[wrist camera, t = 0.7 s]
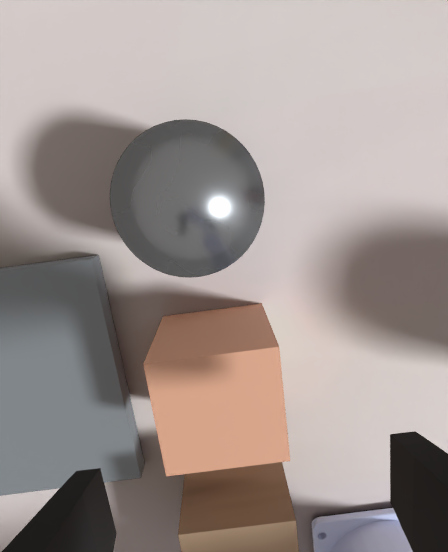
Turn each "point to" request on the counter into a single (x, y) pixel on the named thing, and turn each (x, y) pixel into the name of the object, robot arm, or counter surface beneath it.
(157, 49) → the counter surface
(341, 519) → the robot arm
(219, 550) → the walnut block
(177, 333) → the terracotta block
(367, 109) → the counter surface
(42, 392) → the mat
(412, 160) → the counter surface
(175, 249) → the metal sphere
